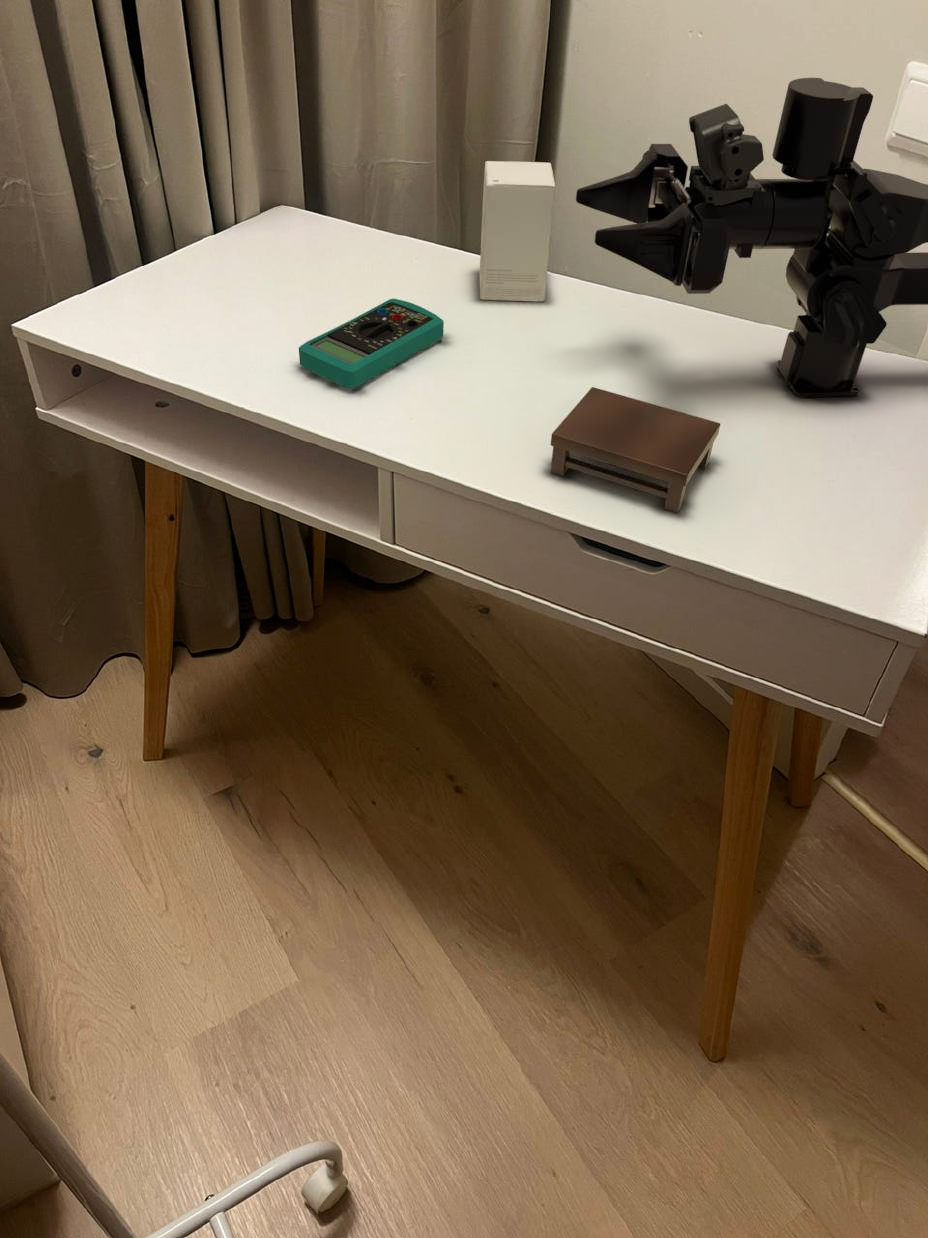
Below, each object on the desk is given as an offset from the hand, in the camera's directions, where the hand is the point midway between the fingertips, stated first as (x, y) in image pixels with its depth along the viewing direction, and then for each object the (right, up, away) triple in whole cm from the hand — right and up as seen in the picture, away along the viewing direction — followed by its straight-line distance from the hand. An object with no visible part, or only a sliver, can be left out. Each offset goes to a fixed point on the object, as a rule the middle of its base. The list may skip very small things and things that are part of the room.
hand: (585, 215), depth 86 cm
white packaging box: (-5, +3, +27) cm, 28 cm away
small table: (+4, -22, +1) cm, 22 cm away
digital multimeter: (-20, -8, +15) cm, 26 cm away
